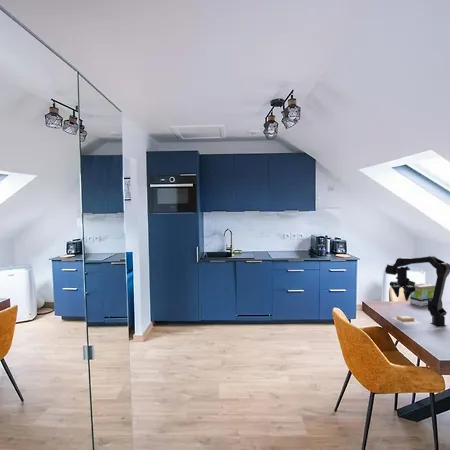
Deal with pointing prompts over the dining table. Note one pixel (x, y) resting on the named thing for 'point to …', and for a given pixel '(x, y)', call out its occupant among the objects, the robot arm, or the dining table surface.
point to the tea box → (422, 294)
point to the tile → (405, 318)
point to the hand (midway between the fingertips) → (402, 298)
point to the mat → (408, 322)
